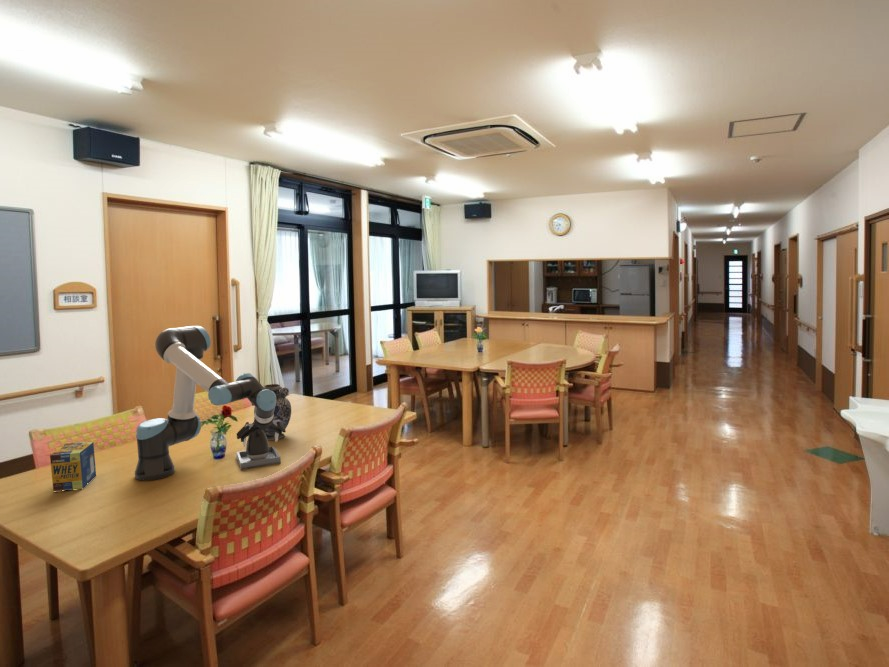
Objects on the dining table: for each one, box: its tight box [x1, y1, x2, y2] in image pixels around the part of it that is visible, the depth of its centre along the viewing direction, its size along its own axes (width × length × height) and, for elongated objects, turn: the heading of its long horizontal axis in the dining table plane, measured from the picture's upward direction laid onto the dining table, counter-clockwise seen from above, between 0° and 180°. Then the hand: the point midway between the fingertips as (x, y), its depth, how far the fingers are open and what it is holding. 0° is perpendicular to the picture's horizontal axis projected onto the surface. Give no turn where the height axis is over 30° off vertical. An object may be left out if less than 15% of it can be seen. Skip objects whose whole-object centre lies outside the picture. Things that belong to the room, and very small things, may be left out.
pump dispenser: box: [245, 430, 270, 460], centre depth 242 cm, size 10×10×15 cm
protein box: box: [49, 441, 97, 491], centre depth 217 cm, size 10×15×16 cm
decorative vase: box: [253, 383, 292, 441], centre depth 276 cm, size 21×19×28 cm
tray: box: [235, 445, 281, 471], centre depth 243 cm, size 17×17×3 cm
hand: (260, 441), depth 234 cm, fingers open, 13 cm apart
